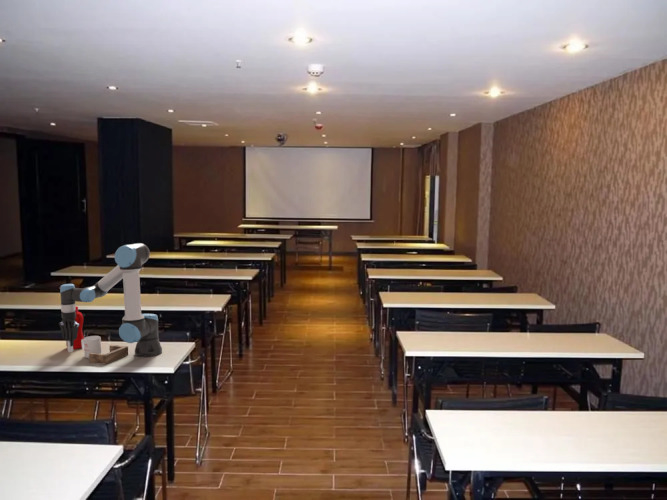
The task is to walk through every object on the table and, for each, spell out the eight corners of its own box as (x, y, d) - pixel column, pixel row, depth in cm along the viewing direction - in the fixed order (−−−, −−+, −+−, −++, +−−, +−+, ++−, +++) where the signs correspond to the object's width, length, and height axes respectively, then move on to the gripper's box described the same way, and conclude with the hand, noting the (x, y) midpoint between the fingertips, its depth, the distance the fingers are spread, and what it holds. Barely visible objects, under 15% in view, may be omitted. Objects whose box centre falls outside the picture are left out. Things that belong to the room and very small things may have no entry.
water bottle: (79, 344, 358) (77, 304, 355) (86, 347, 350) (84, 306, 348) (63, 347, 352) (61, 306, 349) (70, 350, 344) (68, 309, 341)
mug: (104, 355, 334) (104, 336, 333) (93, 359, 326) (92, 340, 325) (88, 353, 338) (87, 334, 337) (76, 357, 330) (75, 338, 329)
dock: (128, 354, 336) (127, 346, 335) (106, 364, 318) (105, 355, 317) (112, 353, 339) (111, 344, 338) (89, 362, 321) (89, 353, 320)
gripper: (82, 310, 335) (84, 350, 338) (64, 309, 339) (66, 348, 341) (73, 313, 328) (75, 354, 331) (54, 311, 332) (56, 352, 334)
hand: (70, 351), depth 336 cm, fingers closed
